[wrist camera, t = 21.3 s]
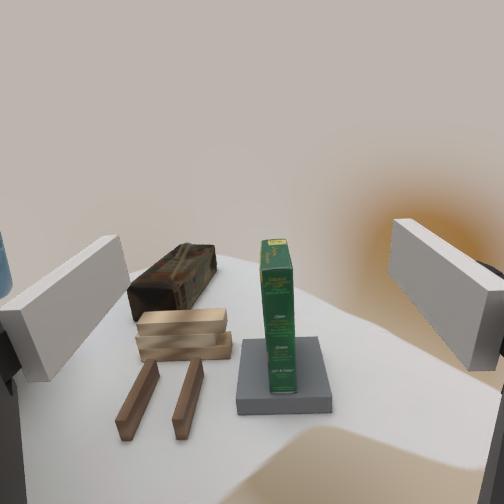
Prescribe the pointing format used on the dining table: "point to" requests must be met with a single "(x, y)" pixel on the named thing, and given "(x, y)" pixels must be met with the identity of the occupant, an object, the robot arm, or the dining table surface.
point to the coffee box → (278, 315)
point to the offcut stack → (184, 335)
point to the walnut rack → (143, 391)
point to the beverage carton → (173, 280)
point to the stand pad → (263, 402)
